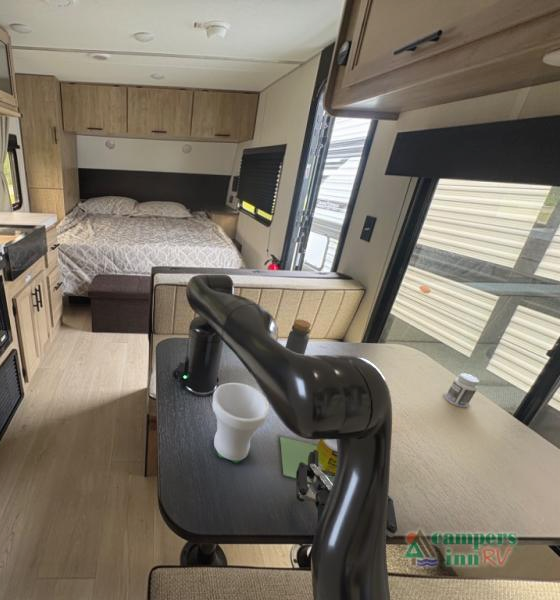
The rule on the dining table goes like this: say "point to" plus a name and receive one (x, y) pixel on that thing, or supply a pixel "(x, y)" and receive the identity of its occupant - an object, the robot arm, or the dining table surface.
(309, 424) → the robot arm
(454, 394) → the pill bottle
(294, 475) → the cloth
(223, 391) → the cup
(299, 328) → the bottle
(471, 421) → the dining table surface
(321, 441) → the supplement bottle
